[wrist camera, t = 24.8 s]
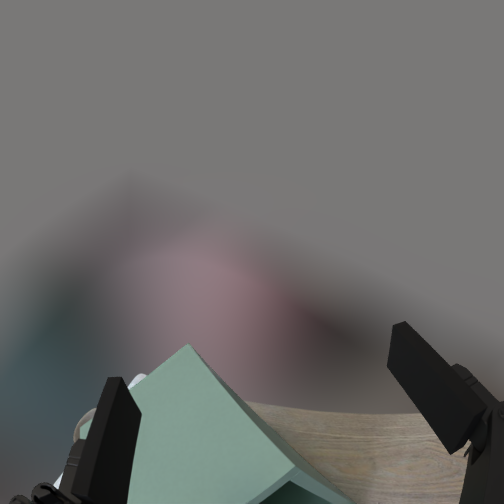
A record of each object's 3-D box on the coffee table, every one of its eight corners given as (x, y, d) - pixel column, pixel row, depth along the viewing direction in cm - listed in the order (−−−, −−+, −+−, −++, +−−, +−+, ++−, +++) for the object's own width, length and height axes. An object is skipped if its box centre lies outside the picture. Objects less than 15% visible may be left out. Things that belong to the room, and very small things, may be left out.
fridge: (363, 509, 25) (295, 465, 16) (244, 588, 18) (100, 572, 9) (271, 427, 46) (188, 342, 37) (184, 492, 39) (79, 427, 30)
